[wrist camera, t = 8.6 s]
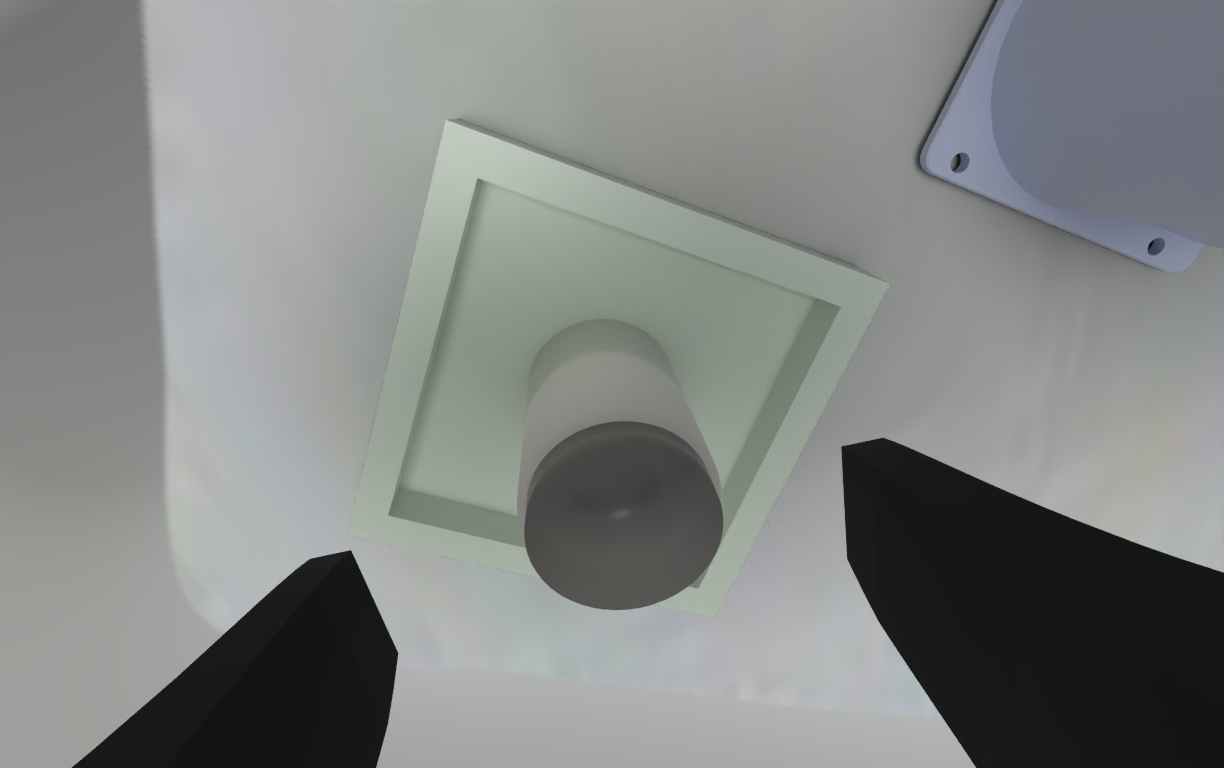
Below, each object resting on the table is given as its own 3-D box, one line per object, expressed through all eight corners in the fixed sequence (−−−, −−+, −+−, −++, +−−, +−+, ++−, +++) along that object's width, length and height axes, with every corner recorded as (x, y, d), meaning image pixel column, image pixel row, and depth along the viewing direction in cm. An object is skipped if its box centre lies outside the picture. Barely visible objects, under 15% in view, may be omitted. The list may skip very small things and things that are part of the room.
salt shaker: (695, 344, 19) (769, 469, 12) (643, 466, 20) (684, 634, 14) (553, 299, 18) (553, 408, 11) (510, 431, 19) (488, 592, 13)
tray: (857, 267, 19) (890, 284, 17) (701, 577, 23) (714, 617, 21) (458, 119, 16) (445, 119, 14) (365, 496, 20) (346, 534, 18)
